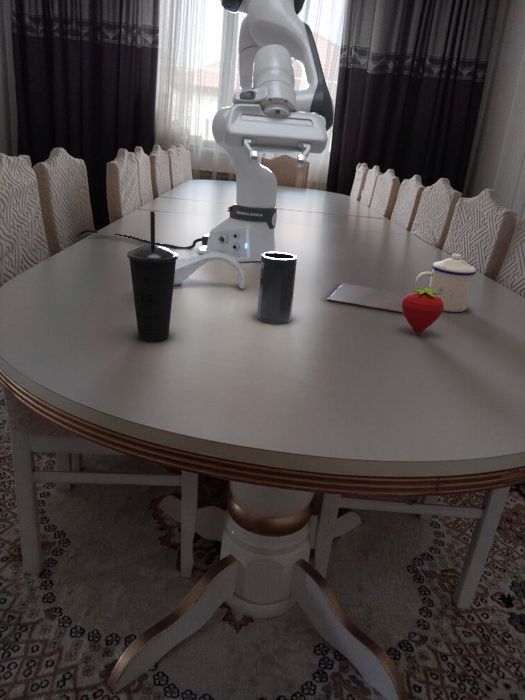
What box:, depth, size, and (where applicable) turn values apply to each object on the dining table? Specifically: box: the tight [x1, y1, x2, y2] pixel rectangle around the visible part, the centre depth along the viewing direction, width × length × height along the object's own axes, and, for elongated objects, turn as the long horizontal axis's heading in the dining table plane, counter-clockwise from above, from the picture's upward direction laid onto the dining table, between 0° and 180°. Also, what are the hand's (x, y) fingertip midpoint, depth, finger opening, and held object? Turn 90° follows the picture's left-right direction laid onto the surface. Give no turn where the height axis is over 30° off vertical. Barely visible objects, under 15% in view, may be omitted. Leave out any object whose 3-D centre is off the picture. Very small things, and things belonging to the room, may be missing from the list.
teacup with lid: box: [415, 253, 477, 313], centre depth 113 cm, size 12×9×12 cm
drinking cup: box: [126, 211, 179, 343], centre depth 81 cm, size 8×8×20 cm
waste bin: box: [256, 251, 298, 325], centre depth 96 cm, size 6×6×12 cm
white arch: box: [174, 253, 246, 290], centre depth 116 cm, size 24×12×7 cm, turn 91°
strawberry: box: [401, 280, 444, 334], centre depth 95 cm, size 6×8×10 cm
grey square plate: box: [326, 283, 409, 314], centre depth 117 cm, size 16×16×1 cm
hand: (277, 163), depth 99 cm, fingers open, 8 cm apart
